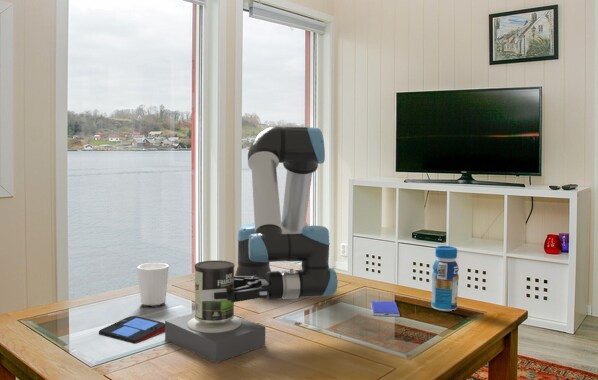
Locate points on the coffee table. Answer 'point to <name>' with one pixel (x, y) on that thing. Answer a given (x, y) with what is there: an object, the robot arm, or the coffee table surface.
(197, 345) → the dome button box
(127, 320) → the game console
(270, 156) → the robot arm
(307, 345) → the coffee table surface
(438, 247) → the beverage bottle
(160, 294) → the cup
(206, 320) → the coffee can
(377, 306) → the hard drive
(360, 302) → the coffee table surface
